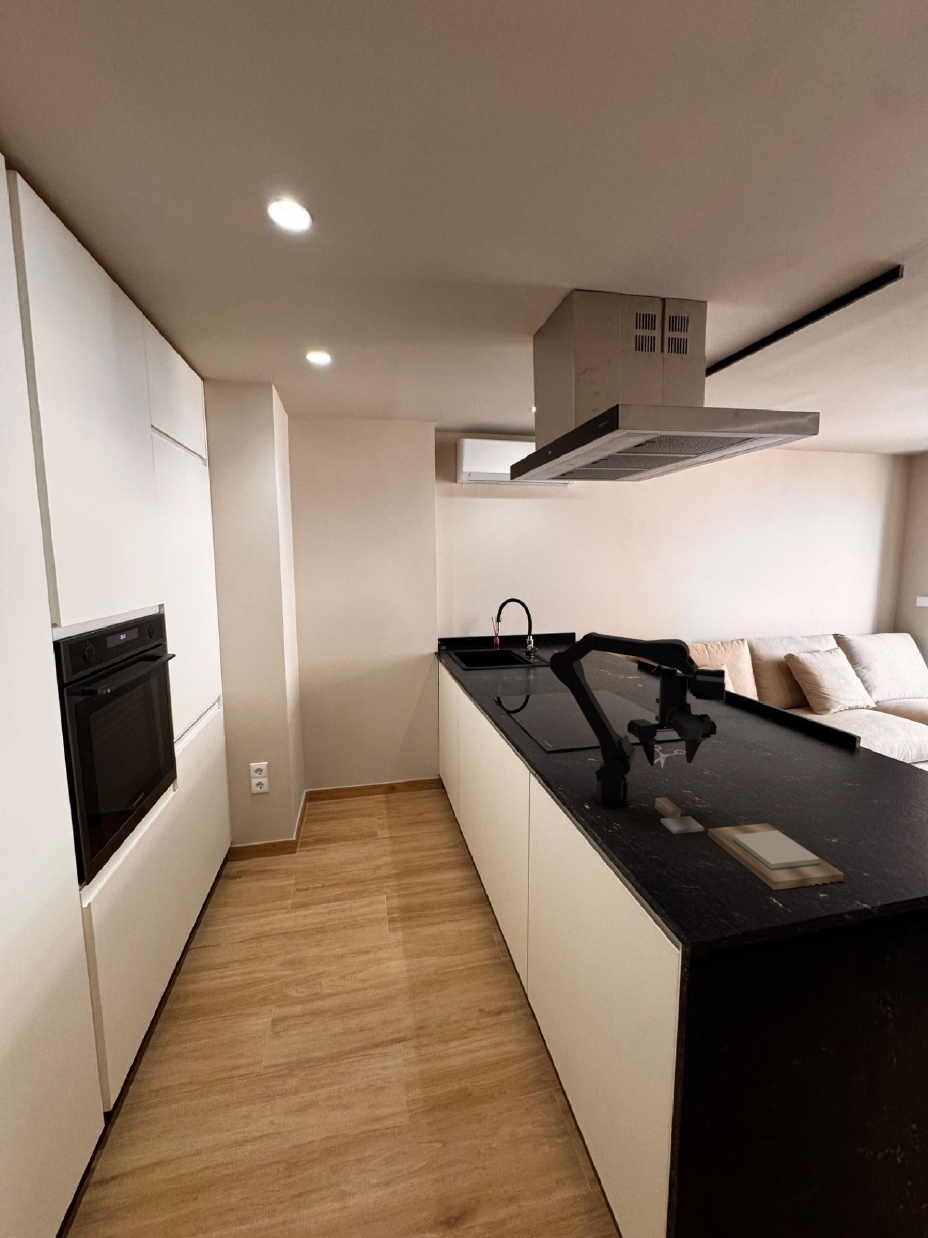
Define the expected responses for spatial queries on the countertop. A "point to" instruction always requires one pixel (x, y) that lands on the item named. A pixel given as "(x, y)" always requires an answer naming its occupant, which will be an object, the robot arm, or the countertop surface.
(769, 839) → the tile
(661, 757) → the scissors
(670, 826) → the turner
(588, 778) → the countertop surface
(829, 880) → the oak board
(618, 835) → the countertop surface
